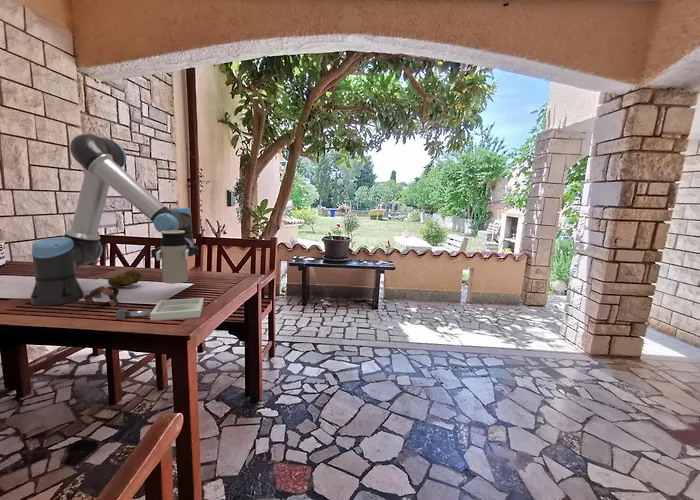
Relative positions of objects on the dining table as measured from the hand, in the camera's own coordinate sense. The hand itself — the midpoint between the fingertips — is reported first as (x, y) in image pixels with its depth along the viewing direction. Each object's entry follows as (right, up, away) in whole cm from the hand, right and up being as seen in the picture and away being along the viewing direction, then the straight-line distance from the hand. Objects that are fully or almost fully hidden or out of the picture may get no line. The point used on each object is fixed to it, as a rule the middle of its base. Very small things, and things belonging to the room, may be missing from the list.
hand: (172, 256), depth 112 cm
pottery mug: (-31, -19, +11) cm, 38 cm away
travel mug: (-2, -9, +6) cm, 11 cm away
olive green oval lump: (-40, -15, +35) cm, 55 cm away
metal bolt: (-12, -21, 0) cm, 24 cm away
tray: (-1, -20, +6) cm, 21 cm away
